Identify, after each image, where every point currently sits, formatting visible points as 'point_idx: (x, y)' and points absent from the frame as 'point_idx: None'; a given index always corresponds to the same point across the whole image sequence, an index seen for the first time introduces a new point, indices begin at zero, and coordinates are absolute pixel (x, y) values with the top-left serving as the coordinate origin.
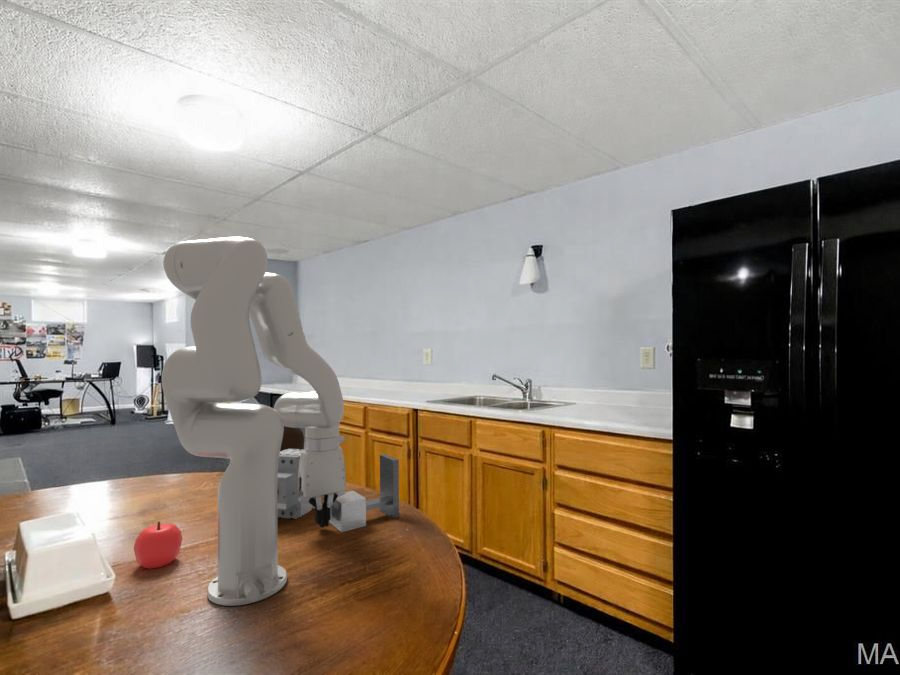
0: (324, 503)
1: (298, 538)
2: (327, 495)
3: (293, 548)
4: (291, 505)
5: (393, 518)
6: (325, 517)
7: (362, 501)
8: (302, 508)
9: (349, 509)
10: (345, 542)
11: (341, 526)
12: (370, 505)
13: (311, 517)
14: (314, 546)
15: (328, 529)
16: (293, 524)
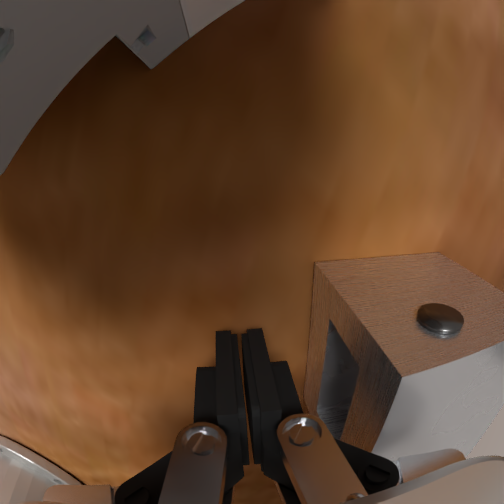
0: (272, 465)
1: (109, 363)
2: (329, 488)
3: (93, 419)
4: (42, 103)
5: None
6: (249, 426)
7: None
8: (206, 3)
9: None
10: None
11: (309, 413)
12: None
13: (250, 89)
14: (165, 442)
15: (268, 345)
16: (106, 153)
